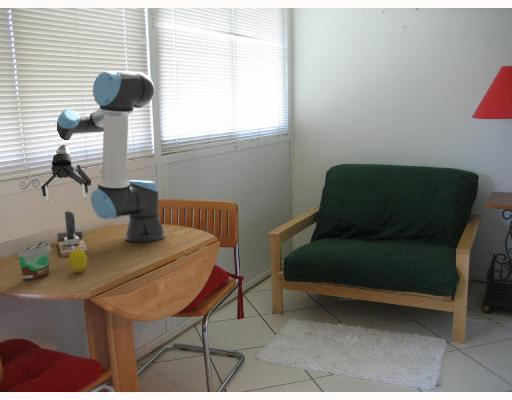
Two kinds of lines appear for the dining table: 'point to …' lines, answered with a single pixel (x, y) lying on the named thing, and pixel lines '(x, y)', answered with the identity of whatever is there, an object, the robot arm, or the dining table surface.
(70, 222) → the press handle
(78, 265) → the lemon
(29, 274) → the food container
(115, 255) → the dining table surface
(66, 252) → the press bench
